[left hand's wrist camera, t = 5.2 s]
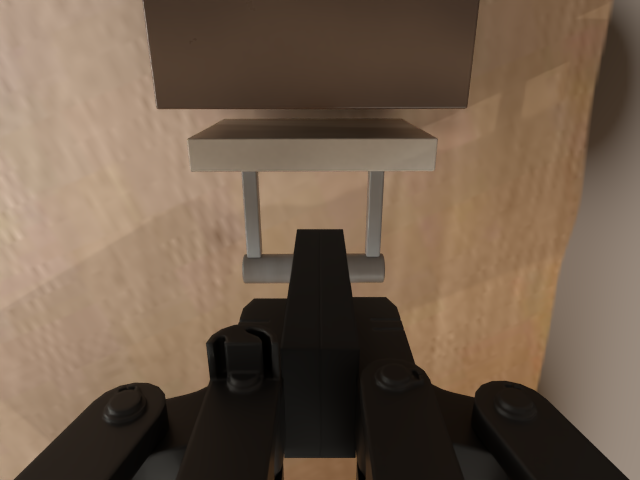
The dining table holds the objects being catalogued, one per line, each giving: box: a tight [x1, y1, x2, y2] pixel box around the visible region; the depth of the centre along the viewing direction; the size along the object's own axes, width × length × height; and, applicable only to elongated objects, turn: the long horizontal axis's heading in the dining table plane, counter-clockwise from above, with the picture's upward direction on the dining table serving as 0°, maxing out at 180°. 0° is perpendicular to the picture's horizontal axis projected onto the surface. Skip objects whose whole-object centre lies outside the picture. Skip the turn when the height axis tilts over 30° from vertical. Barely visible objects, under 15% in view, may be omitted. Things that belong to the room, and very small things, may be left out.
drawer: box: [187, 119, 438, 283], centre depth 17 cm, size 22×9×7 cm, turn 0°
